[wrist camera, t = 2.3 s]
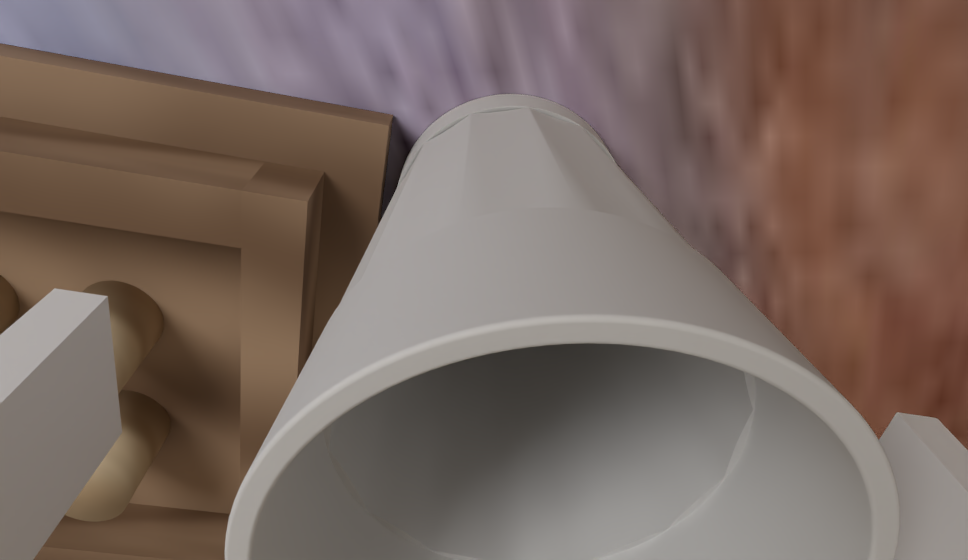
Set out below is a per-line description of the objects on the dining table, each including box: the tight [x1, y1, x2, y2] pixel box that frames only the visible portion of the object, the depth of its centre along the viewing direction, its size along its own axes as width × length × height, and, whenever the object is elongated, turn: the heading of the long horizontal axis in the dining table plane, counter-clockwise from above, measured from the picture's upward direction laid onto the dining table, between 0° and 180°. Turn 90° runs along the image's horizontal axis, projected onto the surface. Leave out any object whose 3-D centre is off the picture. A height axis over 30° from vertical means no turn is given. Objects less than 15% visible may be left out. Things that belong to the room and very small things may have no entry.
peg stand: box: [0, 43, 393, 560], centre depth 18 cm, size 18×18×4 cm
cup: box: [225, 94, 900, 560], centre depth 13 cm, size 8×8×12 cm
